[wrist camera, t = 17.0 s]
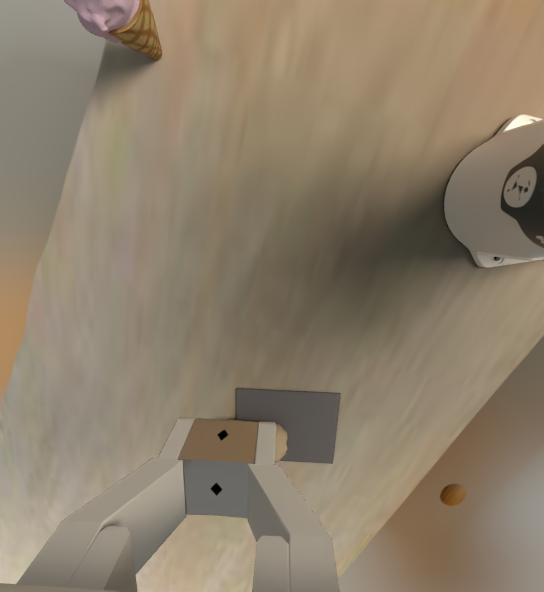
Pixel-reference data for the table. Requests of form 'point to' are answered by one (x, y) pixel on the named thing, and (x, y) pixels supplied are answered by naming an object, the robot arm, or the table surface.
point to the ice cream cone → (121, 23)
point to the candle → (278, 441)
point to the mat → (295, 419)
